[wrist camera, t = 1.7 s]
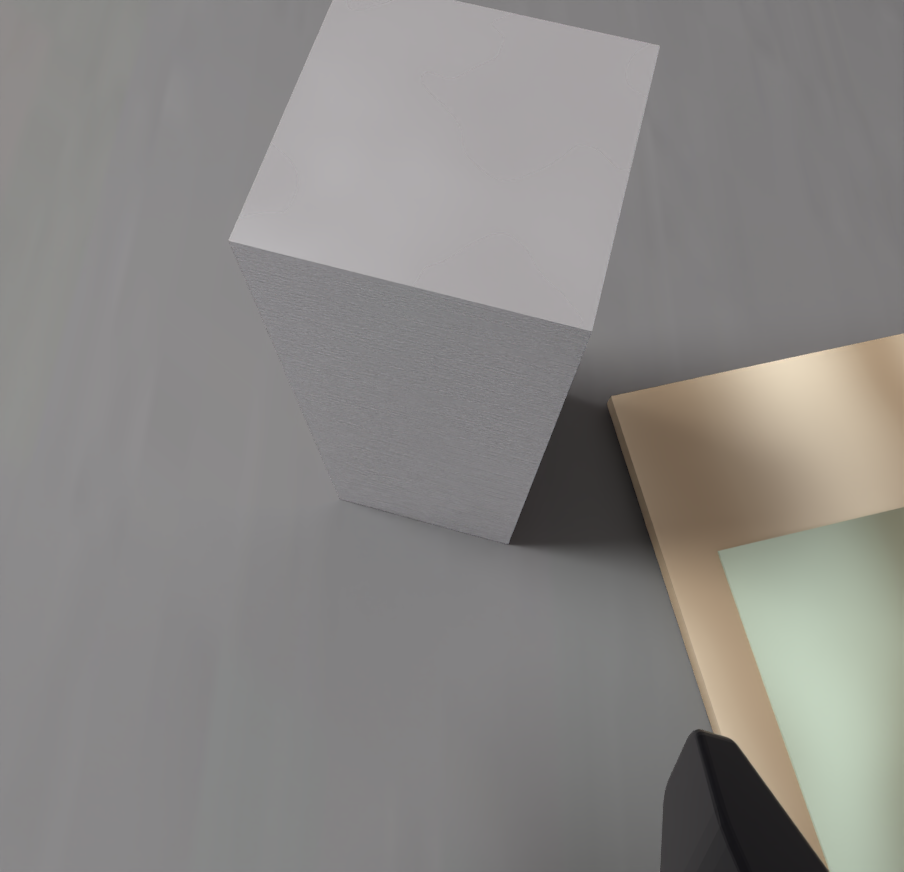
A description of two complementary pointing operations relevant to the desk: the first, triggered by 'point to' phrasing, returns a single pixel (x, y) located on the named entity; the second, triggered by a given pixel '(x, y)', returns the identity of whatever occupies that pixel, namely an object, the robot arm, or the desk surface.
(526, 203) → the aluminium block
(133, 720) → the desk surface
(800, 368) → the tan wooden shallow tray
